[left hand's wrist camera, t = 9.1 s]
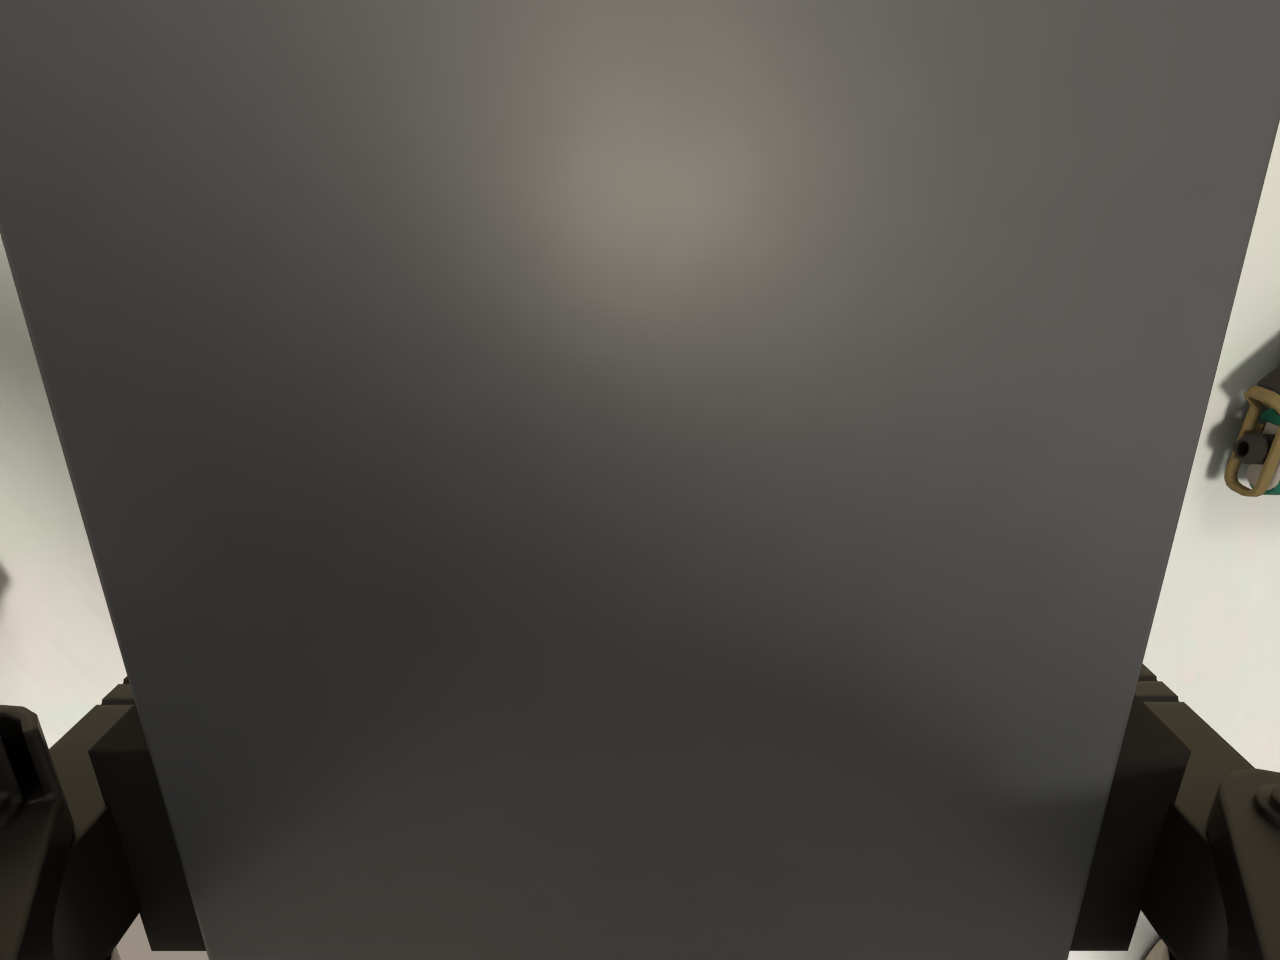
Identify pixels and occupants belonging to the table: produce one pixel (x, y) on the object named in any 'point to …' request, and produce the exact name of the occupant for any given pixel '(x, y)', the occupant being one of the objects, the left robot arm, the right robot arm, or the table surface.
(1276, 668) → the table surface
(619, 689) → the long gray bar
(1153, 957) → the bust sculpture
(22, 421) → the table surface
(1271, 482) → the spray gun
